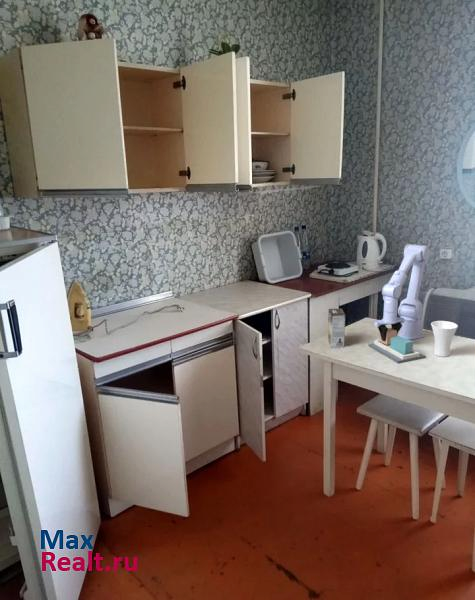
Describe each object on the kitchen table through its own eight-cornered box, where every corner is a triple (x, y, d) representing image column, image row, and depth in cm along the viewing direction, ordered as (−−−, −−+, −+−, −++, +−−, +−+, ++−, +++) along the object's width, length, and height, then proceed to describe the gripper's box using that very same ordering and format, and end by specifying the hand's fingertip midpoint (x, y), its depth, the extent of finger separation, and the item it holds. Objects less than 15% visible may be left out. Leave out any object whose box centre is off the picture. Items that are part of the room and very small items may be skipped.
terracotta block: (389, 339, 213) (389, 327, 212) (396, 343, 209) (396, 330, 207) (380, 341, 212) (380, 329, 210) (386, 345, 207) (387, 332, 206)
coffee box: (327, 340, 222) (328, 308, 217) (340, 340, 221) (341, 308, 217) (330, 347, 213) (331, 314, 208) (344, 347, 213) (345, 314, 208)
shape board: (394, 341, 217) (394, 336, 216) (425, 357, 198) (425, 352, 197) (368, 346, 213) (368, 341, 212) (398, 363, 194) (398, 357, 193)
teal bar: (397, 348, 206) (398, 335, 205) (412, 354, 200) (413, 341, 198) (390, 350, 204) (391, 338, 203) (404, 356, 198) (405, 343, 196)
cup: (457, 359, 195) (460, 329, 192) (431, 358, 197) (433, 328, 194) (451, 350, 205) (454, 321, 201) (426, 349, 207) (429, 320, 203)
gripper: (398, 306, 211) (396, 334, 215) (371, 310, 207) (369, 338, 211) (408, 310, 205) (406, 339, 209) (380, 314, 201) (379, 344, 204)
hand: (388, 339), depth 209 cm, fingers closed on terracotta block, 5 cm apart
